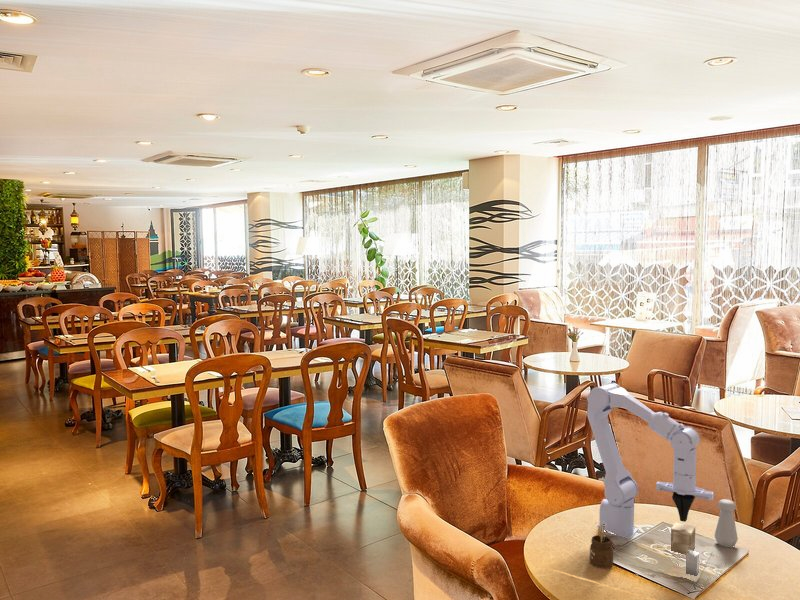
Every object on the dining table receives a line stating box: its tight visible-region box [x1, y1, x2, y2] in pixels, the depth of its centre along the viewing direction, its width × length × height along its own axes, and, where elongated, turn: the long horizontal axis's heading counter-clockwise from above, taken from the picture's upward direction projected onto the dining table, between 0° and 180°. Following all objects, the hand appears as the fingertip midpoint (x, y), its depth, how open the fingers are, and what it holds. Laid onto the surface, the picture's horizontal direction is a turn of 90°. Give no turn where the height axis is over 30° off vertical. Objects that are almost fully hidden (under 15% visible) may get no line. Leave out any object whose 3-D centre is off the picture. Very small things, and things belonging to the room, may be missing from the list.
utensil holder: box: [589, 523, 614, 569], centre depth 172 cm, size 6×6×12 cm
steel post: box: [686, 550, 699, 576], centre depth 166 cm, size 3×3×6 cm
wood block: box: [670, 521, 696, 555], centre depth 179 cm, size 5×5×7 cm
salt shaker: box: [714, 499, 739, 548], centre depth 182 cm, size 6×6×13 cm
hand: (683, 520), depth 178 cm, fingers closed
